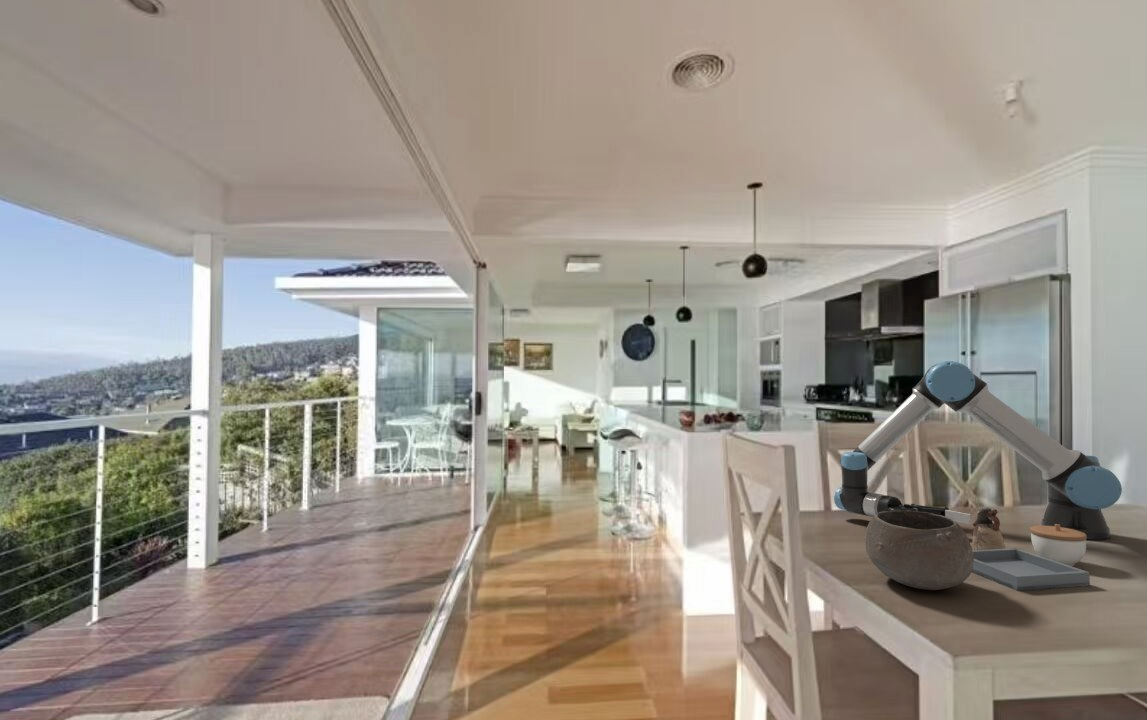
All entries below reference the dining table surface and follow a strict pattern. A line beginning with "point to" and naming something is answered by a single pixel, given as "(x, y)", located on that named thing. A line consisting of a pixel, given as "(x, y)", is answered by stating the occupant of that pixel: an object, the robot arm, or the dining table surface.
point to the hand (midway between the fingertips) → (956, 522)
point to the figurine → (987, 531)
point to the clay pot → (919, 549)
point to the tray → (1026, 570)
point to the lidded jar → (1059, 543)
